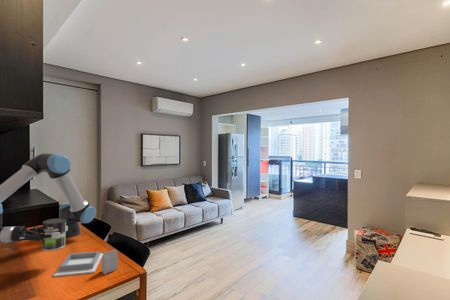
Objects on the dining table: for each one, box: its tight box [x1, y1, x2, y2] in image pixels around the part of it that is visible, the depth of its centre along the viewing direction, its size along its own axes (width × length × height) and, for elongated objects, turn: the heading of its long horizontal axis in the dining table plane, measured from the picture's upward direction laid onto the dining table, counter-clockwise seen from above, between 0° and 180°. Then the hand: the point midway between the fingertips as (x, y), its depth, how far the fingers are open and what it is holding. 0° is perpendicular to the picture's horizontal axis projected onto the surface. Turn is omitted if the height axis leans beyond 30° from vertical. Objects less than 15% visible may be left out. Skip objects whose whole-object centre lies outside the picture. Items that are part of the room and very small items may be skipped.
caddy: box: [52, 251, 104, 278], centre depth 129 cm, size 22×18×3 cm
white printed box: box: [100, 249, 119, 275], centre depth 124 cm, size 4×7×10 cm, turn 138°
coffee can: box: [41, 217, 66, 252], centre depth 127 cm, size 10×10×14 cm
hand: (63, 231), depth 128 cm, fingers closed on coffee can, 10 cm apart
